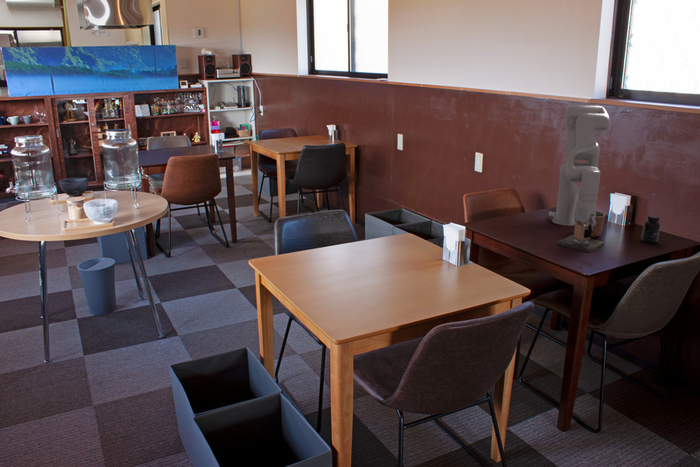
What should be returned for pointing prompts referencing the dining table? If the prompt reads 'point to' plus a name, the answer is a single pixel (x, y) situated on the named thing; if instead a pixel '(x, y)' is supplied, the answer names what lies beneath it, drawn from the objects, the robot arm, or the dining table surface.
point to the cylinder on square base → (581, 243)
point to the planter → (598, 224)
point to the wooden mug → (580, 230)
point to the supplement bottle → (651, 229)
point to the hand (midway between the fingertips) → (582, 234)
